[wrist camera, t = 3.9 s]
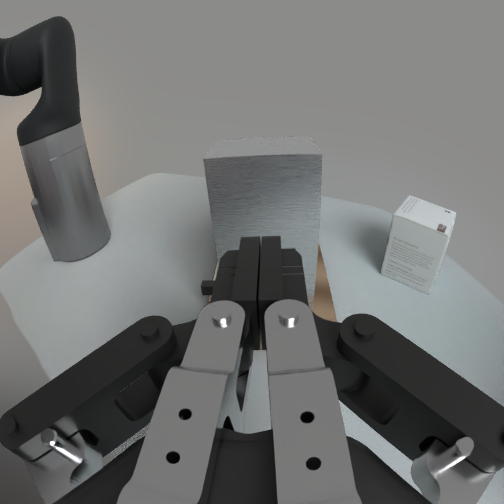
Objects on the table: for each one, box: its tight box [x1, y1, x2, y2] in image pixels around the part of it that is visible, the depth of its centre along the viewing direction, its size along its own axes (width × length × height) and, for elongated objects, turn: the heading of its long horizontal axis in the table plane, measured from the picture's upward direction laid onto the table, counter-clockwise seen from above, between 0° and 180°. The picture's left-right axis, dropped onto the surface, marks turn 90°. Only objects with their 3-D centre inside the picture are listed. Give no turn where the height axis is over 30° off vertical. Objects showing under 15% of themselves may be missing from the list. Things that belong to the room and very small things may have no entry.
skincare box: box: [381, 196, 456, 294], centre depth 27 cm, size 6×6×7 cm
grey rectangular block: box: [201, 136, 322, 311], centre depth 22 cm, size 5×9×13 cm, turn 87°
